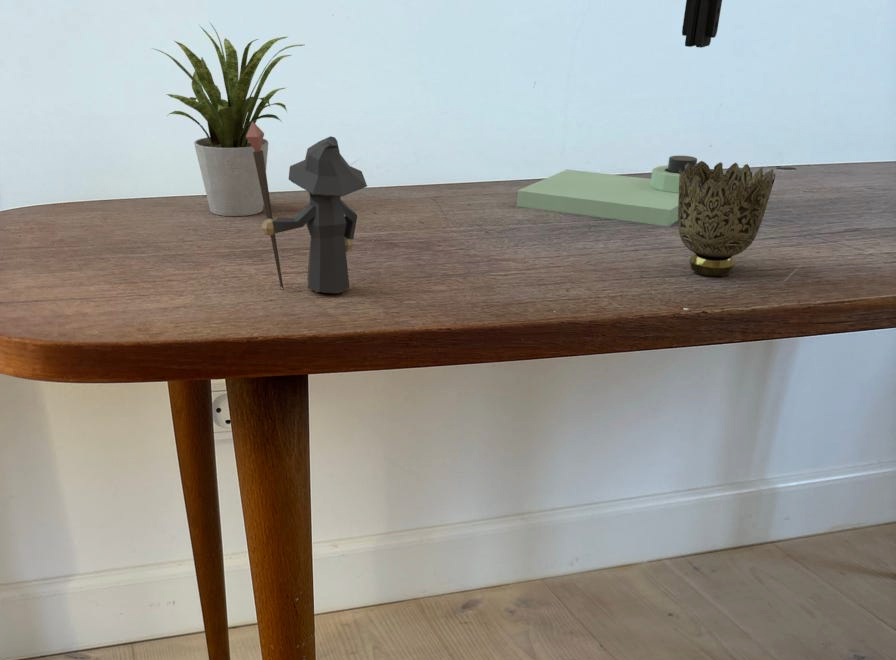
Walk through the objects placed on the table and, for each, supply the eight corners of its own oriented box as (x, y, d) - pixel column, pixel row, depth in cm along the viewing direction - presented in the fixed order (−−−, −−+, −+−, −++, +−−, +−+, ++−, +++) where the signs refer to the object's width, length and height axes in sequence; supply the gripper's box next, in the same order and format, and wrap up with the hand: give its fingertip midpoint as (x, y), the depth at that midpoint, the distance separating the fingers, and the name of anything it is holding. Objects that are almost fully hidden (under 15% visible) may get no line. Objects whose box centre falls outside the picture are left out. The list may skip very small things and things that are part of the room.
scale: (711, 201, 110) (716, 168, 109) (671, 227, 101) (677, 192, 99) (566, 184, 117) (569, 152, 115) (516, 207, 107) (518, 173, 105)
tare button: (698, 173, 108) (700, 157, 107) (690, 178, 106) (692, 161, 105) (671, 170, 109) (674, 154, 109) (663, 175, 107) (665, 158, 107)
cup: (742, 290, 84) (762, 182, 79) (653, 276, 87) (668, 172, 82) (765, 268, 89) (785, 166, 85) (681, 256, 92) (696, 157, 88)
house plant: (336, 198, 109) (331, 16, 100) (301, 230, 98) (292, 27, 89) (205, 191, 111) (188, 12, 102) (156, 221, 100) (132, 23, 91)
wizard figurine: (349, 276, 86) (345, 113, 79) (378, 294, 81) (377, 124, 75) (252, 288, 82) (239, 119, 76) (277, 308, 78) (266, 131, 72)
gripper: (831, -195, 91) (784, 48, 101) (664, -192, 97) (636, 37, 107) (812, -202, 85) (765, 55, 96) (637, -199, 91) (610, 43, 102)
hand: (697, 45), depth 102 cm, fingers closed
